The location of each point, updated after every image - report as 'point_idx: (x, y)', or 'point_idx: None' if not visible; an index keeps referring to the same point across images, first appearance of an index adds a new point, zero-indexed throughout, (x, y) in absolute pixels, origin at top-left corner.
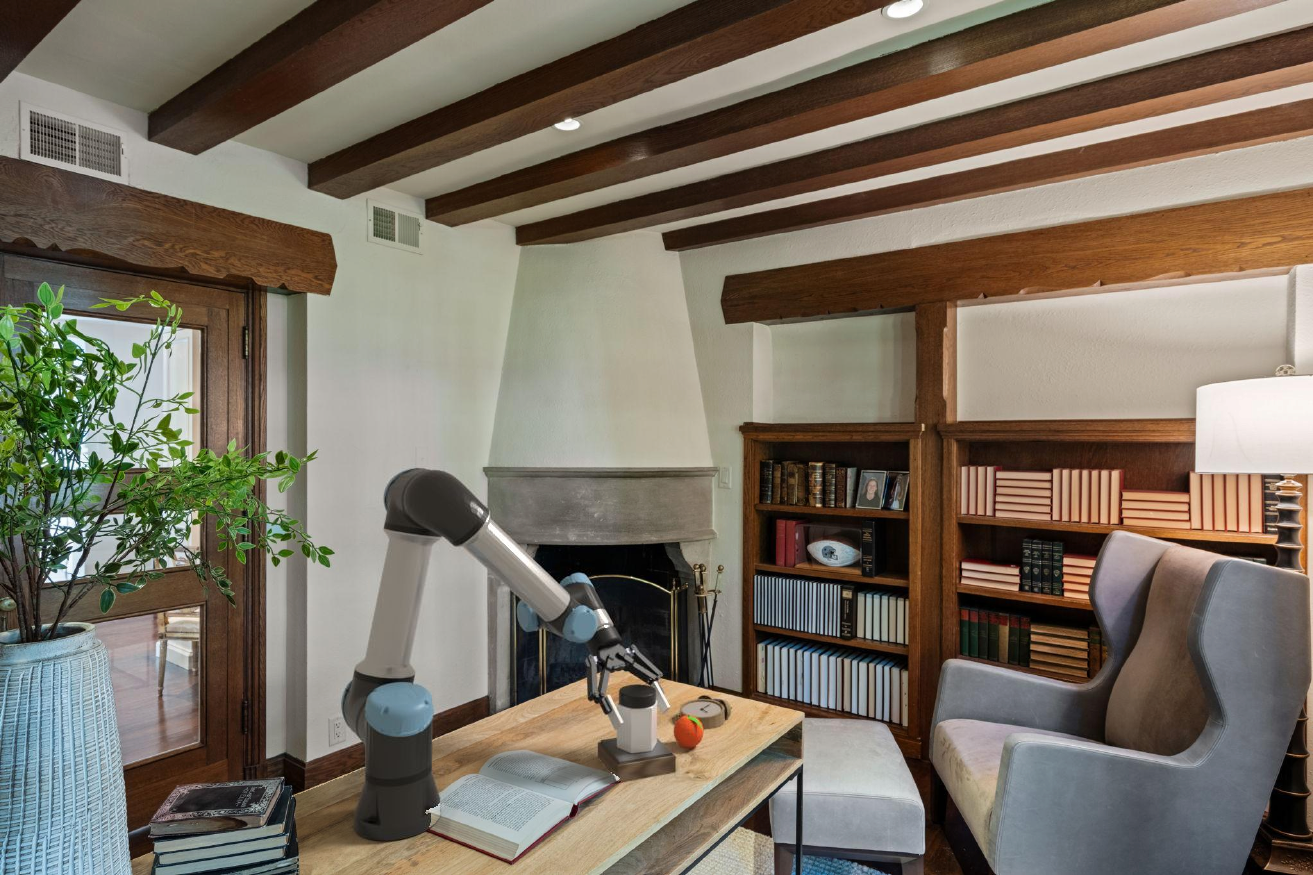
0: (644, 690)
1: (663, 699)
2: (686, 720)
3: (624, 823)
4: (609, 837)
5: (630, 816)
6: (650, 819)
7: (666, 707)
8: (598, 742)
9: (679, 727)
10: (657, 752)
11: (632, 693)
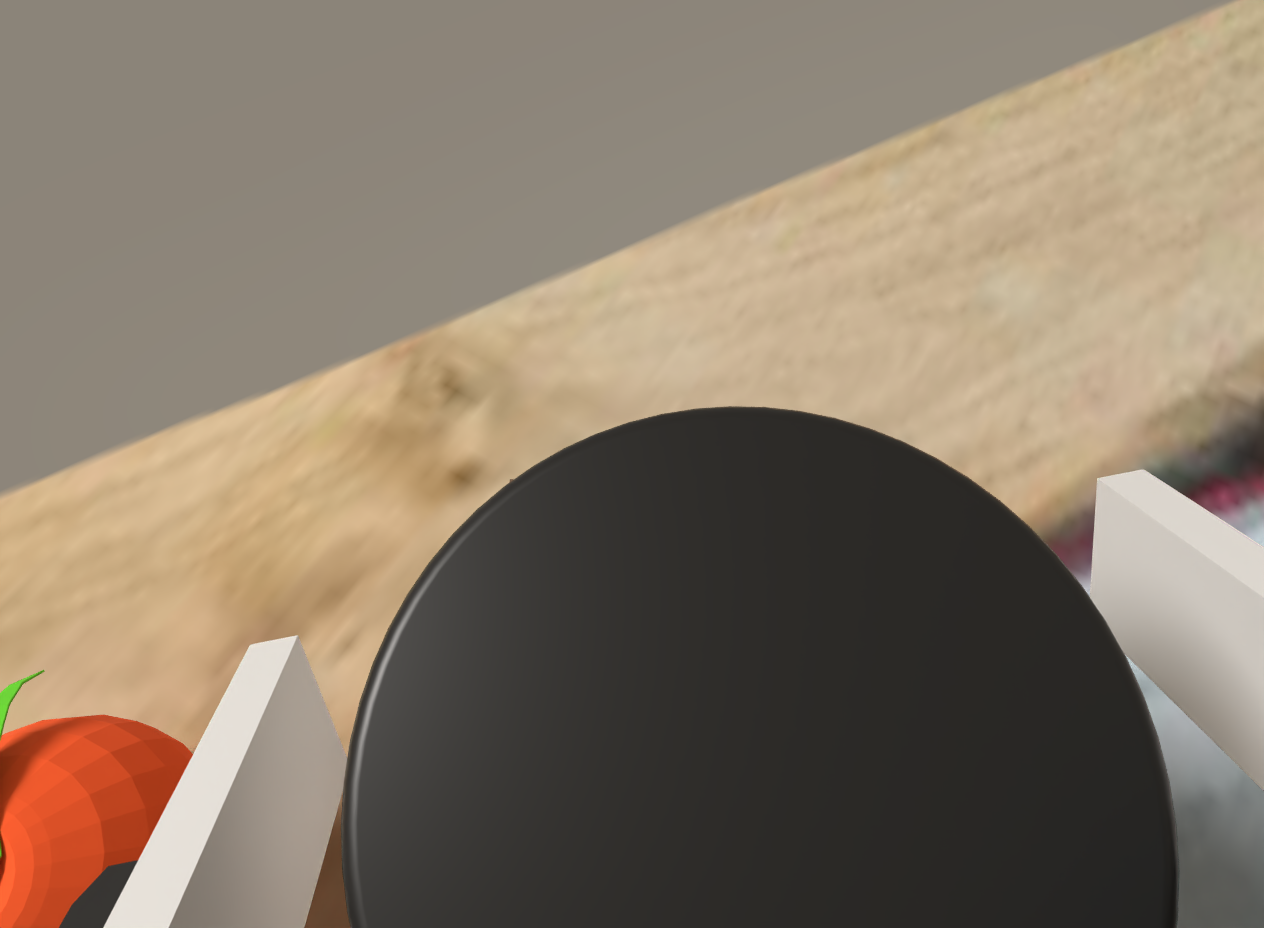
0: (624, 679)
1: (260, 722)
2: (37, 832)
3: (1120, 157)
4: (1241, 89)
5: (1062, 198)
6: (972, 132)
7: (301, 665)
8: None
9: None
10: None
11: (944, 645)
